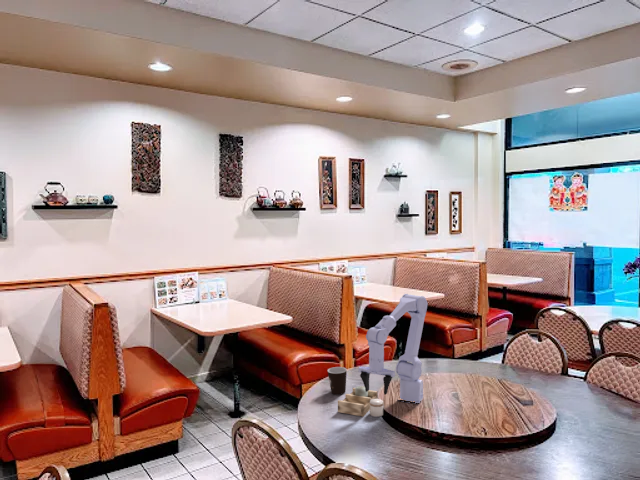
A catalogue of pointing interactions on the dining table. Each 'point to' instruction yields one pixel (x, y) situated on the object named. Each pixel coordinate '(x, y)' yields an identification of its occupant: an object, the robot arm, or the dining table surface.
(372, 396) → the rack
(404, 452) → the dining table surface
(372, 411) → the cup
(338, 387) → the coffee mug
